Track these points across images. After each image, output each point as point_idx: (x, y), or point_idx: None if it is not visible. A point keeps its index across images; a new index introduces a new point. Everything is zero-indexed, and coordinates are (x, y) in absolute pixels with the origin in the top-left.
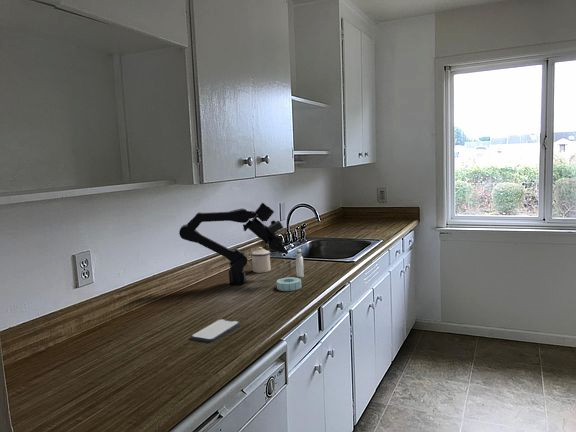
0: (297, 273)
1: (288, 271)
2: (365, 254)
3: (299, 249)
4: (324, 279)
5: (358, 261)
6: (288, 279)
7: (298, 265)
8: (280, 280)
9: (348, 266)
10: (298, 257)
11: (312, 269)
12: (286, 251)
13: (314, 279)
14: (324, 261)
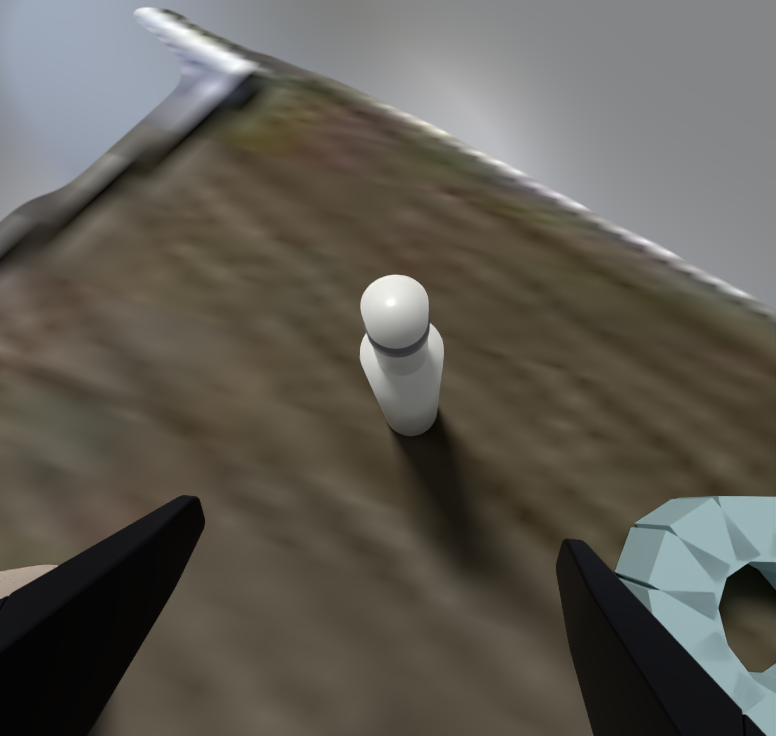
0: (420, 427)
1: (215, 444)
2: (166, 12)
3: (400, 295)
4: (567, 292)
5: (269, 59)
6: (713, 607)
7: (434, 400)
8: (763, 723)
9: (335, 114)
10: (423, 365)
11: (273, 285)
12: (614, 590)
13: (540, 347)
14: (143, 180)
